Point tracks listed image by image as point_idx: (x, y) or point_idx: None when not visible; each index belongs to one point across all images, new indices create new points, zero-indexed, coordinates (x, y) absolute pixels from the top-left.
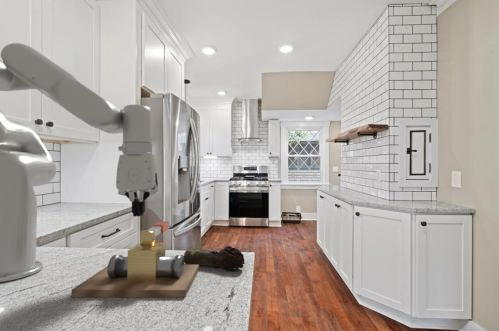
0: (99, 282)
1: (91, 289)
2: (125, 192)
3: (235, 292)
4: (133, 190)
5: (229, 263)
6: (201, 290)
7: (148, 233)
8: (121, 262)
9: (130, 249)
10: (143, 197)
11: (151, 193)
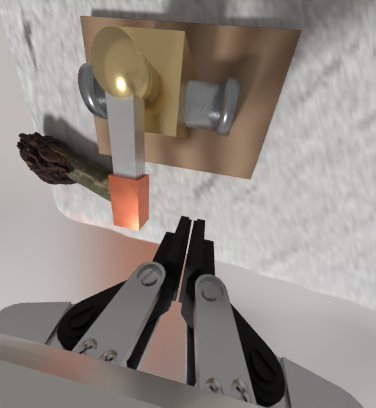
0: (249, 75)
1: (257, 29)
2: (289, 405)
3: (25, 44)
4: (168, 384)
5: (47, 137)
6: (76, 58)
7: (104, 32)
8: (211, 84)
9: (180, 46)
10: (125, 288)
11: (47, 314)
